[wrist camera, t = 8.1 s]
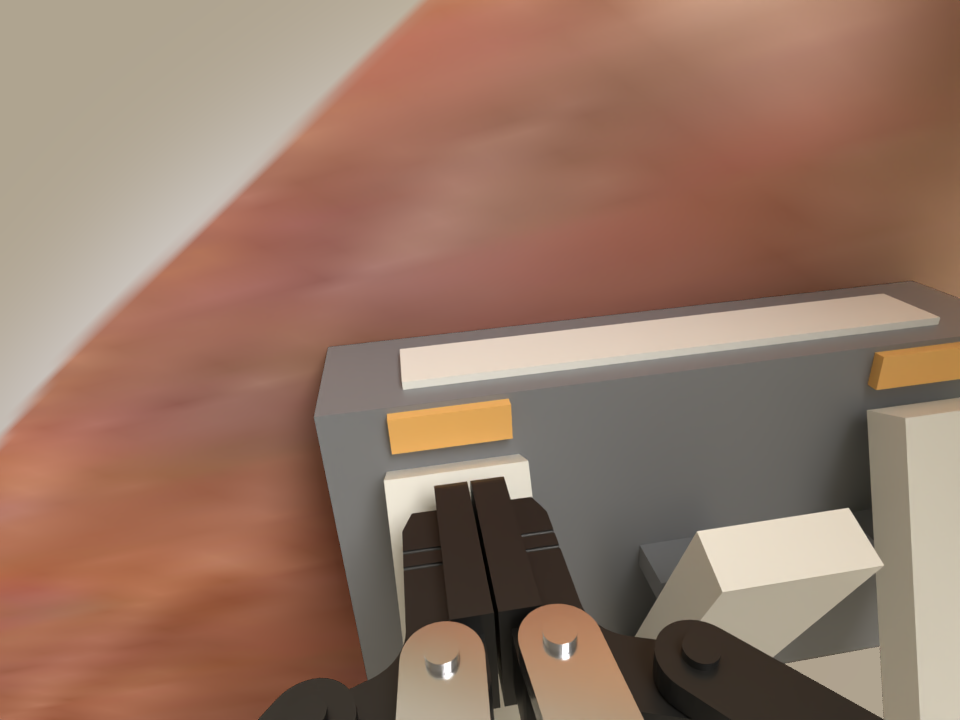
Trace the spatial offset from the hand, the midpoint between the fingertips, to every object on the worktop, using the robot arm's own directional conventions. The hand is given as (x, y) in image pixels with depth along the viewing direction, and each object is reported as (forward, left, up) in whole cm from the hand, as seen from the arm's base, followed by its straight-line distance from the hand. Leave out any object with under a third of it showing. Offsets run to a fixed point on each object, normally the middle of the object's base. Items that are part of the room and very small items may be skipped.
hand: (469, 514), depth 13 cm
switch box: (-2, +7, -6) cm, 9 cm away
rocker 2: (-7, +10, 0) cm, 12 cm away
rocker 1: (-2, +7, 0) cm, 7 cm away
